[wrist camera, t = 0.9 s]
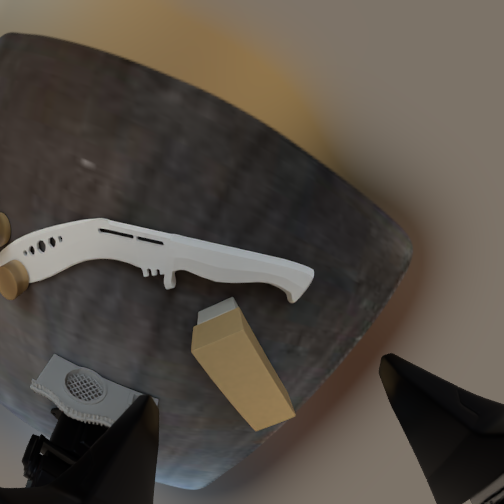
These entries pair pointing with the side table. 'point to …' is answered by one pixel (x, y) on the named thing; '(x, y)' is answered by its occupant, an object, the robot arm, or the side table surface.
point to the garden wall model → (94, 410)
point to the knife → (152, 255)
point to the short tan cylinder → (4, 229)
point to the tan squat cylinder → (13, 279)
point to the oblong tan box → (240, 365)
